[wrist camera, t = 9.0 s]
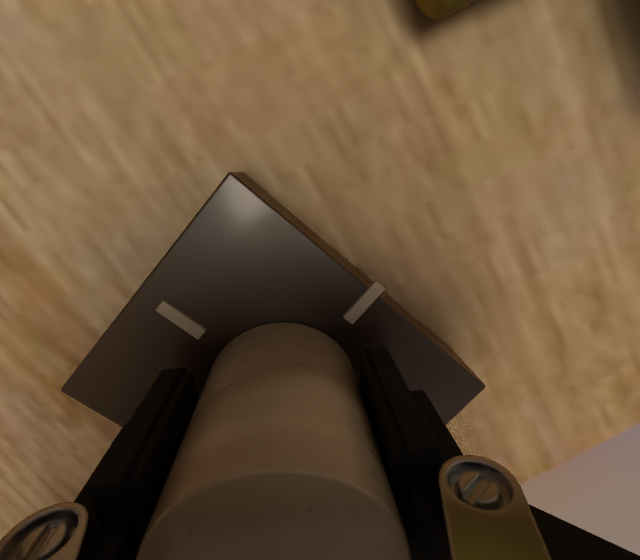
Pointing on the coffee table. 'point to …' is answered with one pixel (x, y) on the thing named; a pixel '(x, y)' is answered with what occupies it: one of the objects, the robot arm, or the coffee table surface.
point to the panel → (256, 308)
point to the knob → (278, 461)
